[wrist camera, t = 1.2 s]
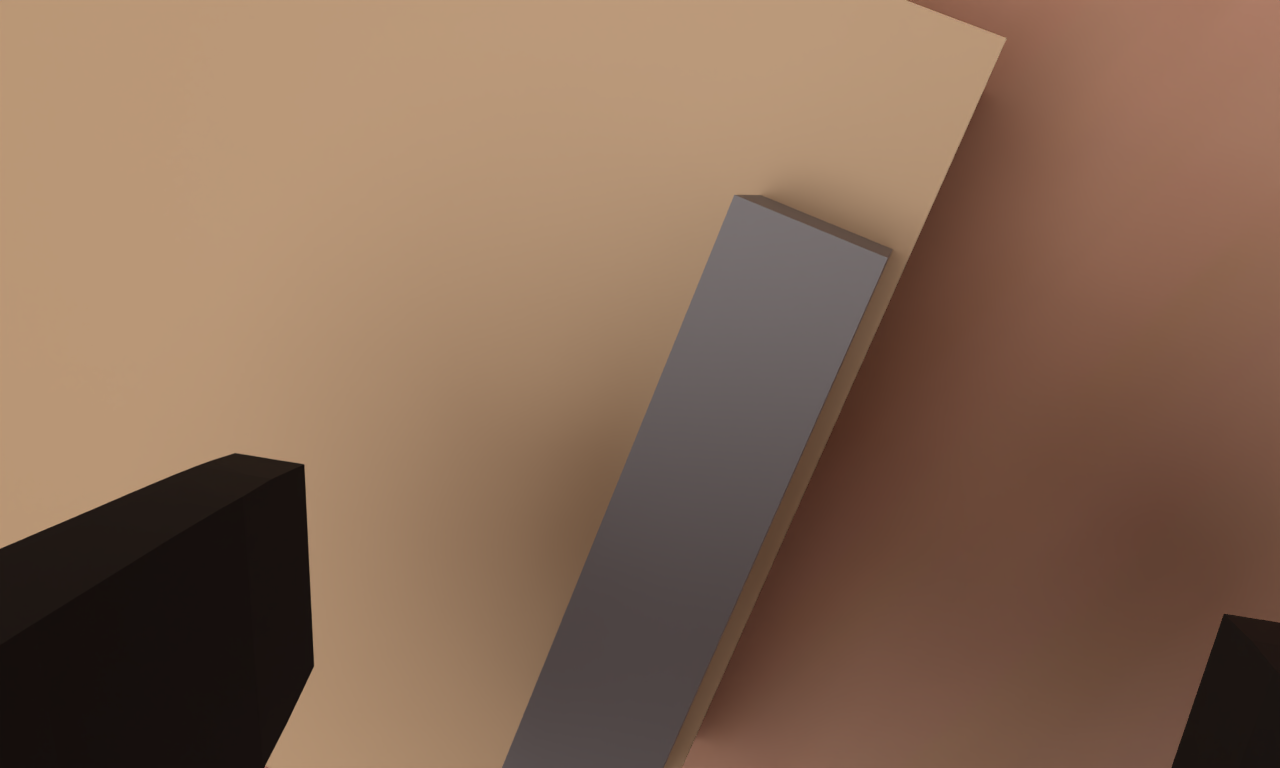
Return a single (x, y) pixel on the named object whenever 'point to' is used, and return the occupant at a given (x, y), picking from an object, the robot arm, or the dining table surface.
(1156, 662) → the dining table surface
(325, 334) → the mailer lid
